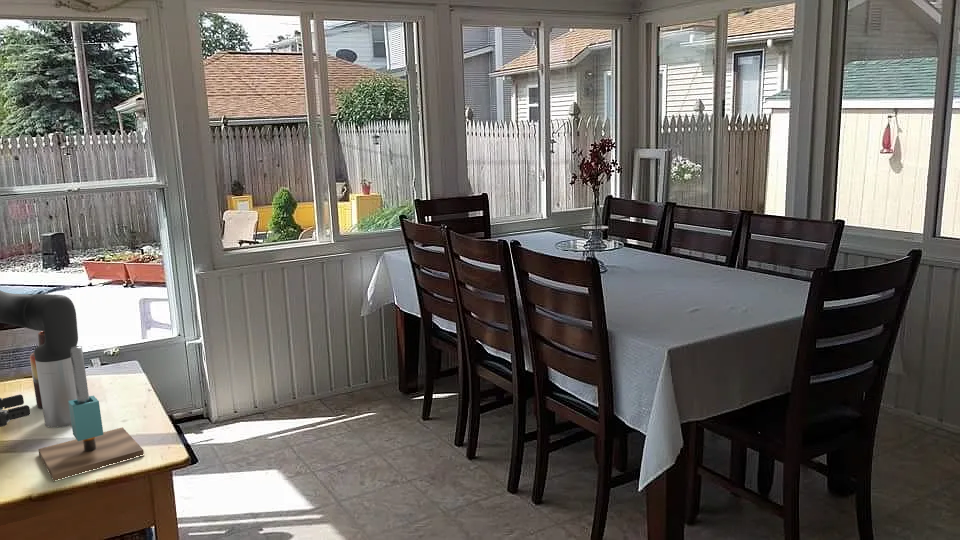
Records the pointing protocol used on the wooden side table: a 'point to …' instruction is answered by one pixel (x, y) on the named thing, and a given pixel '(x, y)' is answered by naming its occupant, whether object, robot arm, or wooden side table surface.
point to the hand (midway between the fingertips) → (26, 404)
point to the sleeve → (86, 419)
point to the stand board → (89, 454)
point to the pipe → (81, 387)
